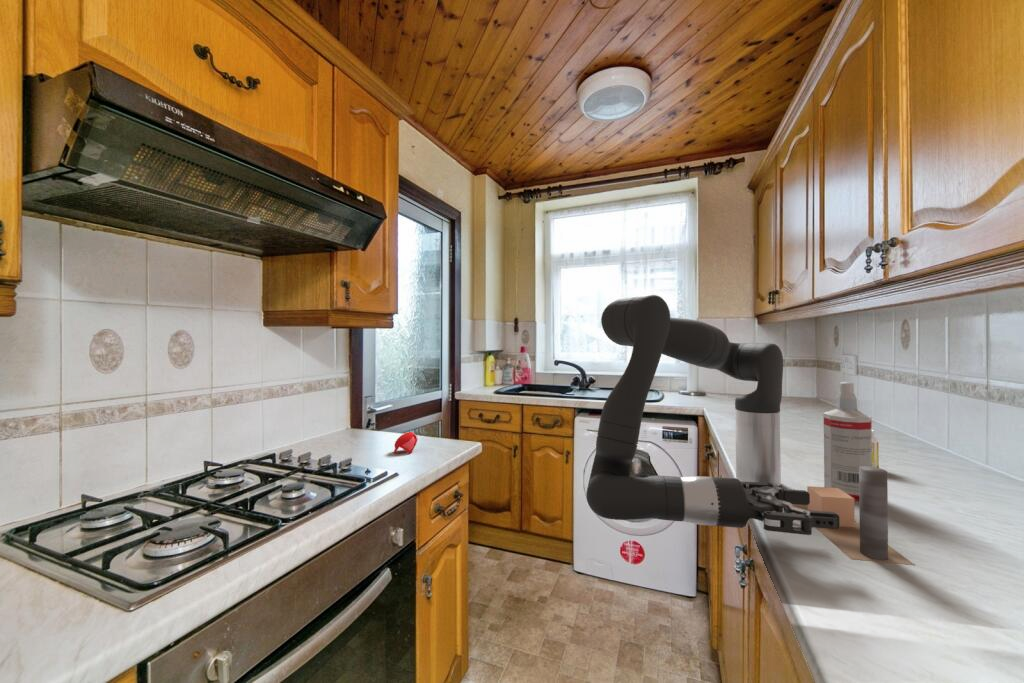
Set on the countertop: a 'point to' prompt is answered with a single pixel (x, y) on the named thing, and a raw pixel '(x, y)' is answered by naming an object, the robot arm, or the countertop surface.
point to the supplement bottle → (875, 451)
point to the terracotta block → (833, 503)
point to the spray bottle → (846, 443)
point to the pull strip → (853, 542)
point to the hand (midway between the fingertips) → (822, 508)
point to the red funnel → (406, 442)
